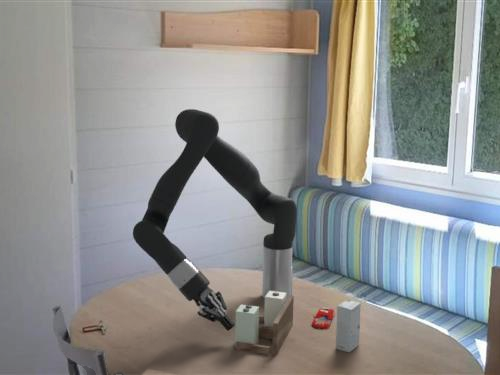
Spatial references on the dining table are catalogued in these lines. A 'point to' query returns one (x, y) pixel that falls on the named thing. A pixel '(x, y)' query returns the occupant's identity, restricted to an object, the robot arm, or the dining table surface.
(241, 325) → the pale green dotted block
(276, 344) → the wooden divided rack
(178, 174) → the robot arm
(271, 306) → the white dotted block
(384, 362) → the dining table surface
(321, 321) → the race car
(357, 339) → the skincare box
